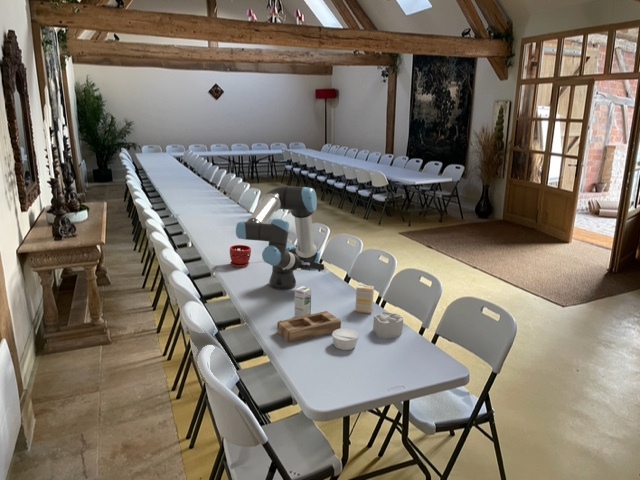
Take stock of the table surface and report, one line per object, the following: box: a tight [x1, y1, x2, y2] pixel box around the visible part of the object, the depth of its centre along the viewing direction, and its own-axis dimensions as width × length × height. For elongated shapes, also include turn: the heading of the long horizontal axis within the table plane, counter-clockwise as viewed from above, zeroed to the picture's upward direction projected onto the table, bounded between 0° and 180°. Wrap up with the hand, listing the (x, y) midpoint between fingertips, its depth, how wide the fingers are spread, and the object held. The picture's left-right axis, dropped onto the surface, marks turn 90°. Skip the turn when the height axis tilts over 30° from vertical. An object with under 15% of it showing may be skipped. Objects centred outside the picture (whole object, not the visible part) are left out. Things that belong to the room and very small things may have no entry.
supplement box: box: [355, 284, 375, 315], centre depth 235 cm, size 8×5×13 cm, turn 74°
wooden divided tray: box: [276, 310, 342, 344], centre depth 212 cm, size 12×26×5 cm, turn 122°
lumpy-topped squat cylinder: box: [372, 310, 404, 339], centre depth 214 cm, size 10×13×9 cm
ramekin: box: [331, 327, 359, 351], centre depth 201 cm, size 11×11×5 cm
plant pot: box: [229, 244, 252, 269], centre depth 296 cm, size 13×13×12 cm
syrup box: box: [294, 285, 312, 318], centre depth 226 cm, size 6×6×14 cm
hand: (312, 269), depth 222 cm, fingers open, 13 cm apart
